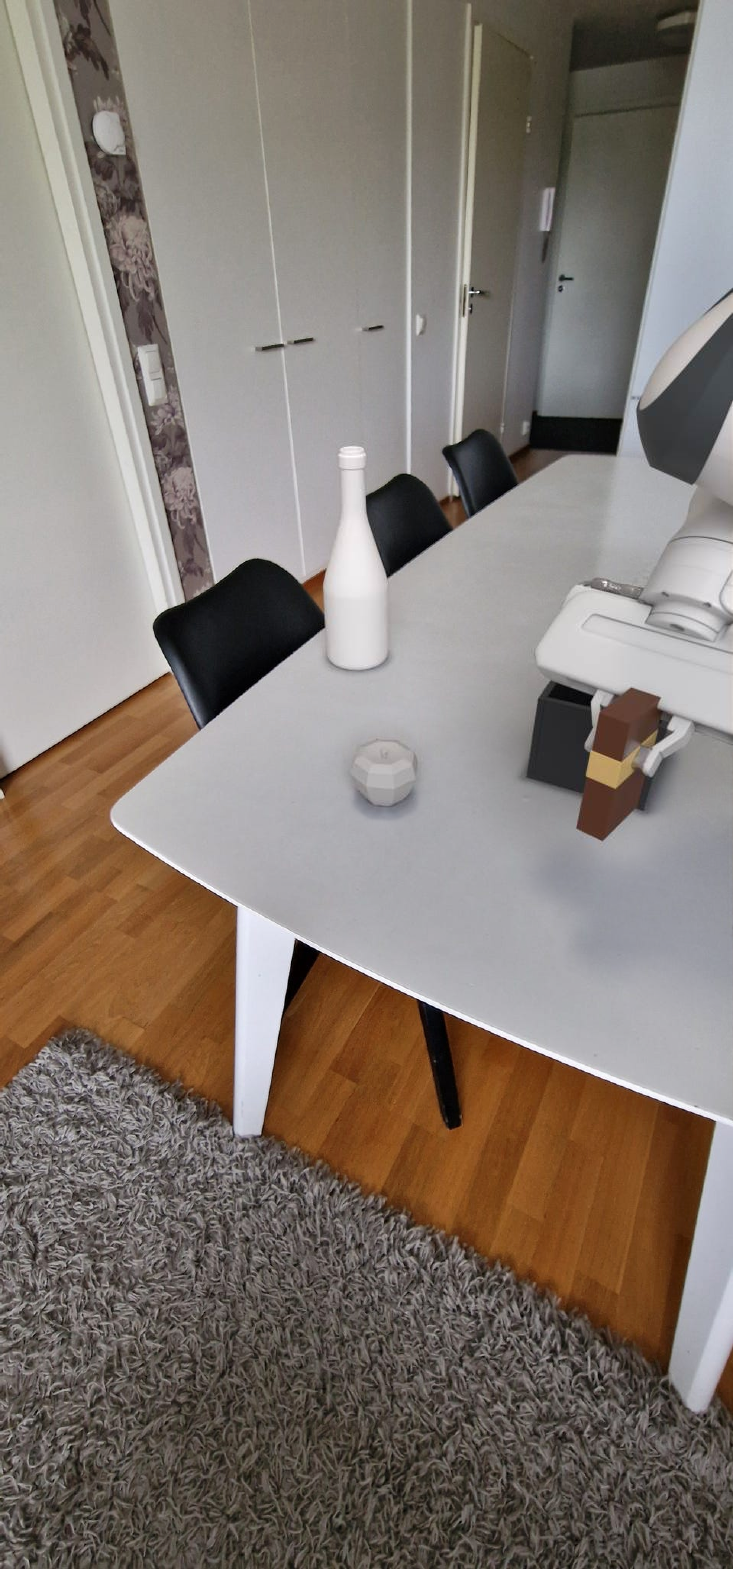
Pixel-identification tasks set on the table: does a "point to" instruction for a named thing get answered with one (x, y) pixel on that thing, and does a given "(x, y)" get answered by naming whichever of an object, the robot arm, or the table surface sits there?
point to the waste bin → (569, 740)
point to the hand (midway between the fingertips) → (617, 762)
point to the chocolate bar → (617, 762)
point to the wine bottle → (355, 578)
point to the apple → (384, 771)
